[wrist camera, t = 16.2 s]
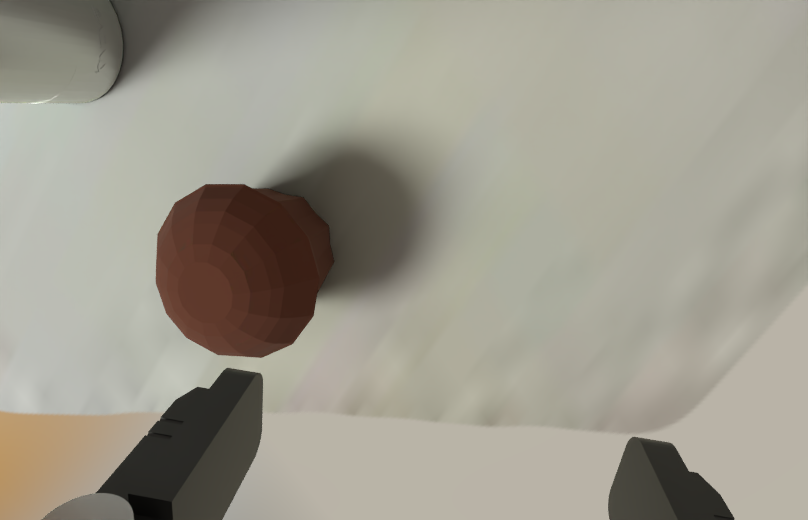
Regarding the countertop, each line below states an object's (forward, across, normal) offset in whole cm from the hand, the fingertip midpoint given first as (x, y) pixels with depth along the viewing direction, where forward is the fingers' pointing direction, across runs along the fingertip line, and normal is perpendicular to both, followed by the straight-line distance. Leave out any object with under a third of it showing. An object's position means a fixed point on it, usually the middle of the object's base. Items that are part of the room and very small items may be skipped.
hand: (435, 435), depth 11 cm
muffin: (+26, +12, +7) cm, 30 cm away
